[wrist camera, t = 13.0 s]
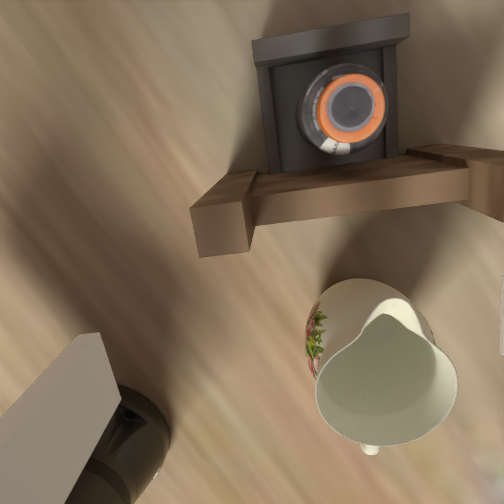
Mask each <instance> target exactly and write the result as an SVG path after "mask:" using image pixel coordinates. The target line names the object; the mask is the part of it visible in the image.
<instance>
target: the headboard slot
mask: <svg viewBox="0 0 504 504" xmlns="http://www.w3.org/2000/svg"><path fill="white" fill-rule="evenodd" d="M409 36H410V17H409V13H403V14H398V15H392V16H386V17H381V18H375V19H370V20H364V21H358V22H353V23H347V24H342V25H336V26H330V27H325V28H319V29H314V30H308V31H302V32H297V33H291V34H286V35H280V36H274V37H269V38H263V39H258V40H252V49H253V57H254V63H255V66H256V68H257V75H258V82H259V90H260V98H261V106H262V114H263V122H264V129H265V137H266V145H267V153H268V161H269V168H270V173H267V174H260V175H258V172H257V170H250V171H243V172H236V173H229V174H226V175H225V176H224V177H223V178H222V179H221V180H219V181H218V182H217V183H216V184H215V185H214V186H213V187H212V188H211V189H210V190H209V191H208V192H207V193H206V194H204V195H203V196H202V197H201V198H200V199H199V200H198V201H197V202H196V203H195V204H194V205H193V206H192V207H190V213H191V218H192V223H193V228H194V233H195V238H196V243H197V248H198V253H199V258H201V257H210V256H218V255H227V254H235V253H244V252H249V251H250V246H251V242H252V238H253V234H254V229H255V226H259V225H267V224H275V223H283V222H291V221H299V220H307V219H315V218H323V217H331V216H339V215H348V214H356V213H364V212H372V211H380V210H388V209H396V208H404V207H412V206H420V205H428V204H437V203H445V202H453V201H455V202H457V203H459V204H462V205H464V206H466V207H469V208H471V209H473V210H476V211H478V212H480V213H482V214H485V215H487V216H489V217H492V218H494V219H496V220H499V221H501V222H504V151H499V150H491V149H482V148H473V147H465V146H456V145H447V144H436V145H429V146H422V147H414V148H407V154H404V155H398V127H397V83H396V45H397V44H398V43H400V42H401V41H403V40H404V39H406V38H407V37H409ZM342 63H354V64H359V65H362V66H365V67H367V68H368V69H370V70H372V71H373V72H374V73H375V74H376V75H377V76H378V77H379V78H380V79H381V81H382V83H383V84H384V86H385V88H386V91H387V95H388V103H389V106H388V115H387V119H386V122H385V125H384V127H383V129H382V131H381V133H380V134H379V135H378V137H377V138H376V139H375V140H374V141H373V142H372V143H371V144H370V145H368V146H367V147H366V148H364V149H363V150H361V151H358V152H356V153H353V154H348V155H334V154H330V153H327V152H324V151H322V150H320V149H318V148H316V147H314V146H312V145H310V144H309V143H307V142H306V141H305V140H304V139H303V138H302V137H301V135H300V133H299V131H298V128H297V125H296V121H295V112H296V106H297V103H298V100H299V98H300V96H301V94H302V93H303V91H304V90H305V89H306V88H307V86H308V85H309V84H310V83H311V82H312V81H313V79H314V78H315V77H316V76H317V75H319V74H320V73H321V72H322V71H324V70H326V69H328V68H329V67H332V66H334V65H337V64H342Z"/></svg>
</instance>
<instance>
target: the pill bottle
mask: <svg viewBox="0 0 504 504" xmlns="http://www.w3.org/2000/svg"><path fill="white" fill-rule="evenodd" d="M388 106H389V103H388V95H387V91H386V88H385V86H384V84H383V83H382V81H381V79H380V78H379V77H378V76H377V75H376V74H375V73H374V72H373V71H372V70H370V69H368V68H367V67H365V66H362V65H359V64H354V63H342V64H337V65H334V66H332V67H329V68H328V69H326V70H324V71H322V72H321V73H320V74H319V75H317V76H316V77H315V78H314V79H313V81H312V82H311V83H310V84H309V85H308V86H307V88H306V89H305V90H304V91H303V93H302V94H301V96H300V98H299V100H298V103H297V106H296V112H295V121H296V125H297V128H298V131H299V133H300V135H301V137H302V138H303V139H304V140H305V141H306V142H307V143H309V144H310V145H312V146H314V147H316V148H318V149H320V150H322V151H324V152H327V153H330V154H334V155H348V154H353V153H356V152H358V151H361V150H363V149H364V148H366V147H367V146H368V145H370V144H371V143H372V142H373V141H374V140H375V139H376V138H377V137H378V135H379V134H380V133H381V131H382V129H383V127H384V125H385V122H386V119H387V115H388Z"/></svg>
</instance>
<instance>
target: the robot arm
mask: <svg viewBox="0 0 504 504" xmlns="http://www.w3.org/2000/svg"><path fill="white" fill-rule="evenodd" d="M500 353H501V354H502V355H503V356H504V276H502V290H501V328H500ZM169 442H170V436H169V430H168V426H167V424H166V421H165V419H164V417H163V416H162V414H161V413H160V411H159V410H158V409H157V408H156V407H155V405H154V404H153V403H151V402H150V401H149V400H148V399H147V398H145V397H144V396H142V395H141V394H139V393H137V392H136V391H133V390H131V389H129V388H126V387H123V386H120V385H117V384H116V381H115V378H114V375H113V372H112V369H111V366H110V363H109V360H108V357H107V353H106V350H105V347H104V344H103V341H102V338H101V335H100V332H96V333H89V334H82V335H78V336H77V337H76V338H75V339H74V340H73V341H72V342H71V343H70V344H69V345H68V346H67V347H66V349H65V350H64V351H63V352H62V353H61V354H60V355H59V356H58V357H57V358H56V359H55V360H54V361H53V362H52V363H51V365H50V366H49V367H48V368H47V369H46V370H45V371H44V372H43V373H42V374H41V375H40V376H39V377H38V378H37V380H36V381H35V382H34V383H33V384H32V385H31V386H30V387H29V388H28V389H27V390H26V391H25V392H24V393H23V394H22V396H21V397H20V398H19V399H18V400H17V401H16V402H15V403H14V404H13V405H12V406H11V407H10V408H9V409H8V410H7V412H6V413H5V414H4V415H3V416H2V417H1V418H0V504H134V503H135V502H136V500H137V499H138V498H139V496H140V495H141V494H142V493H143V491H144V490H145V489H146V487H147V486H148V484H149V483H150V482H151V481H152V480H153V478H154V477H155V476H156V475H157V474H158V472H159V471H160V469H161V467H162V465H163V463H164V460H165V457H166V454H167V451H168V448H169Z"/></svg>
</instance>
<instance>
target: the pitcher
mask: <svg viewBox="0 0 504 504" xmlns="http://www.w3.org/2000/svg"><path fill="white" fill-rule="evenodd" d="M305 350H306V357H307V361H308V365H309V368H310V370H311V373H312V375H313V377H314V379H315V381H316V385H315V396H316V402H317V406H318V409H319V411H320V414H321V415H322V417H323V418H324V420H325V421H326V422H327V424H328V425H329V426H330V427H331V428H332V429H333V430H335V431H336V432H337V433H339V434H340V435H342V436H344V437H345V438H347V439H349V440H352V441H354V442H357V443H360V445H361V448H362V450H363V451H364V452H365V453H366V454H369V455H375V454H376V453H378V451H379V448H380V446H394V445H401V444H405V443H408V442H411V441H414V440H417V439H419V438H421V437H423V436H425V435H427V434H428V433H430V432H431V431H433V430H434V429H435V428H437V427H438V426H439V425H440V424H441V423H442V422H443V421H444V420H445V418H446V417H447V416H448V415H449V413H450V411H451V410H452V408H453V406H454V403H455V401H456V397H457V393H458V377H457V373H456V369H455V367H454V365H453V363H452V362H451V360H450V359H449V357H448V356H447V355H446V354H445V353H444V352H443V351H442V350H441V349H440V348H439V347H438V346H436V343H435V340H434V336H433V333H432V331H431V329H430V326H429V324H428V323H427V321H426V319H425V318H424V316H423V315H422V313H421V312H420V311H419V309H418V308H417V307H416V306H415V305H414V304H413V303H412V302H411V301H410V300H409V299H408V298H407V297H405V296H404V295H403V294H402V293H400V292H399V291H397V290H396V289H394V288H392V287H390V286H389V285H386V284H384V283H381V282H378V281H375V280H371V279H364V278H354V279H348V280H344V281H341V282H338V283H336V284H334V285H333V286H331V287H329V288H328V289H327V290H326V291H325V292H324V293H323V294H322V295H321V296H320V297H319V298H318V300H317V301H316V302H315V304H314V306H313V308H312V310H311V312H310V315H309V318H308V321H307V325H306V331H305Z"/></svg>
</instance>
